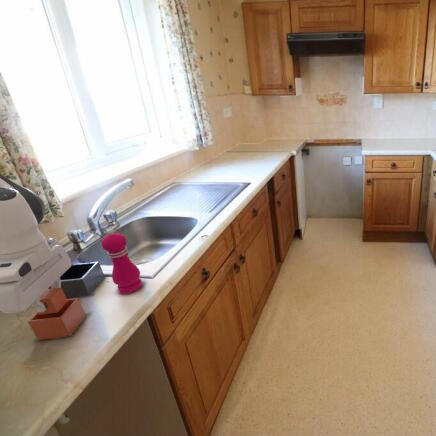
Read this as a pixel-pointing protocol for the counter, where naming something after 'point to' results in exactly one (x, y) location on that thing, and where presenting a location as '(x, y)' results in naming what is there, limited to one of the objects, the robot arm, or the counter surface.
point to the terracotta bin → (58, 321)
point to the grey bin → (81, 279)
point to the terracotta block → (53, 300)
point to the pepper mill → (121, 263)
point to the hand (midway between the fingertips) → (50, 302)
